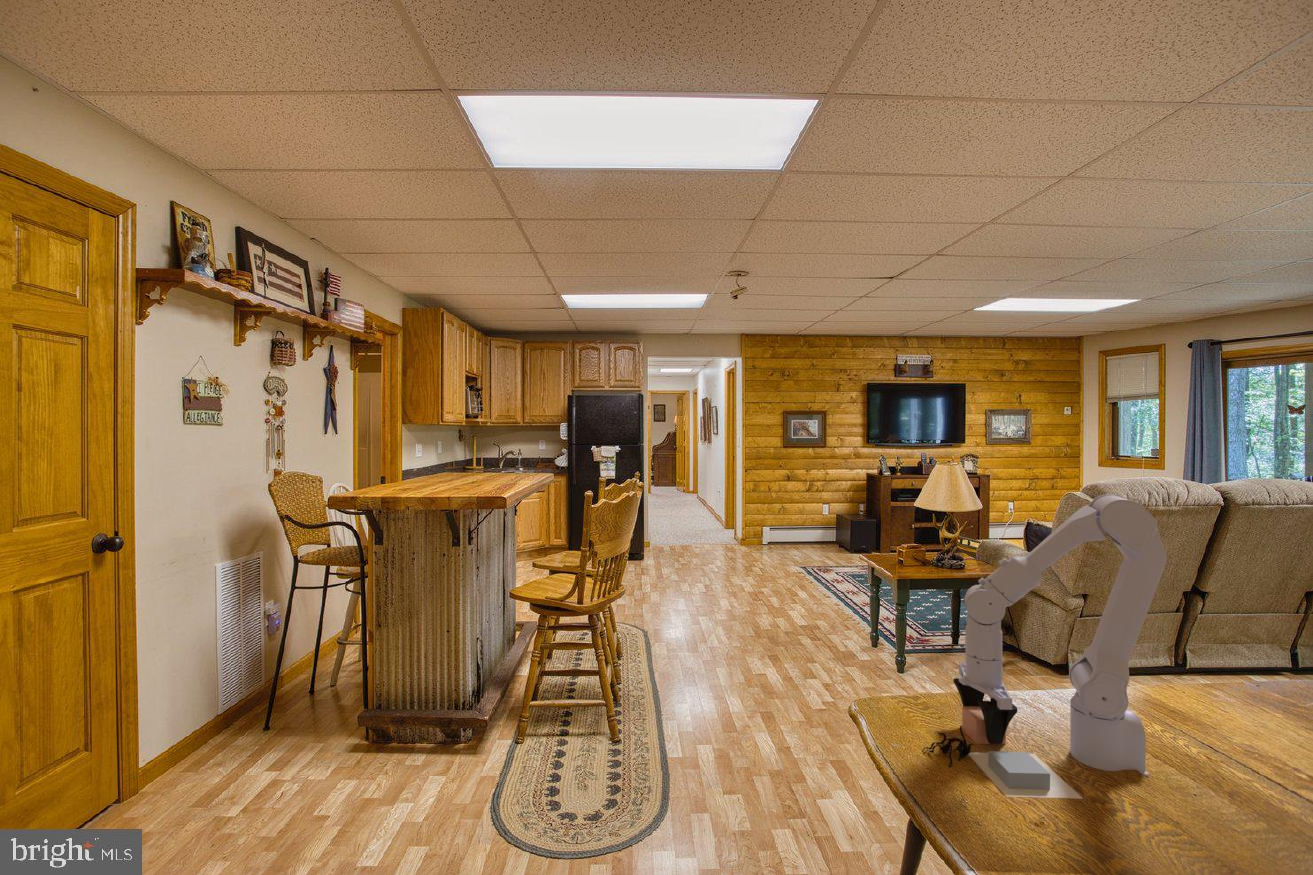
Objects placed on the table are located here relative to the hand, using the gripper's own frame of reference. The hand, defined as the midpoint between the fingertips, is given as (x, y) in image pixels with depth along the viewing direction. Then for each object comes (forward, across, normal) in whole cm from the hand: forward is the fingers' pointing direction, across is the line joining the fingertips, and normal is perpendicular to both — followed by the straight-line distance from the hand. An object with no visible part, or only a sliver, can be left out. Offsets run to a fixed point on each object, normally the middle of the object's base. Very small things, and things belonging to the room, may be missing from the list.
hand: (983, 731), depth 104 cm
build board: (+2, +12, 0) cm, 12 cm away
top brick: (+2, 0, 0) cm, 2 cm away
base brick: (+1, +12, -1) cm, 13 cm away
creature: (+2, +6, -10) cm, 12 cm away
